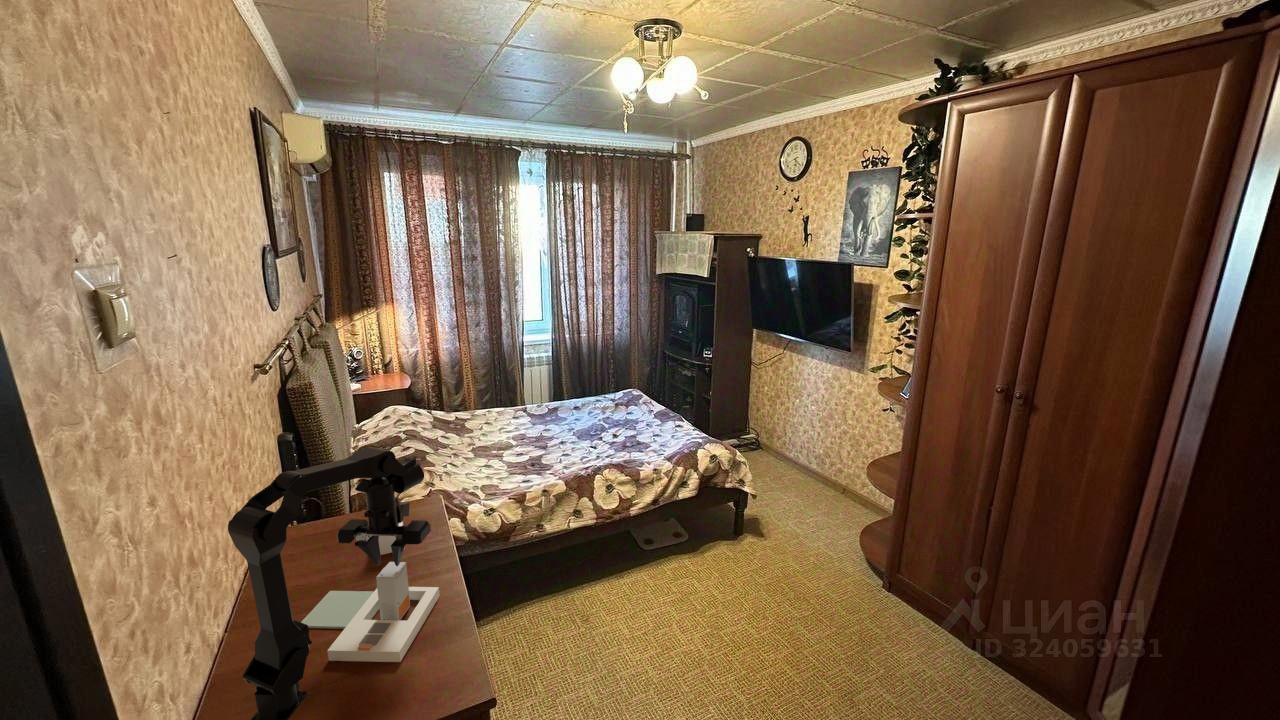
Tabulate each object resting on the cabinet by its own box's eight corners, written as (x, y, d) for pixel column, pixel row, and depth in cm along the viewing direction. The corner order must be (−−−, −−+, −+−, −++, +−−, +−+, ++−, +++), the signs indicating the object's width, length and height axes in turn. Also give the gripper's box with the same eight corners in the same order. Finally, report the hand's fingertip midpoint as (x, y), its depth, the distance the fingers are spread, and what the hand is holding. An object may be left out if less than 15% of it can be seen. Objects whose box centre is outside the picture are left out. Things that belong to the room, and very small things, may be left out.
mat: (351, 629, 116) (350, 626, 116) (298, 628, 116) (297, 625, 116) (378, 593, 128) (378, 591, 128) (330, 592, 128) (330, 590, 128)
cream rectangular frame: (400, 662, 107) (398, 649, 106) (328, 660, 107) (327, 647, 107) (439, 596, 127) (438, 585, 126) (379, 595, 127) (378, 584, 127)
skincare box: (398, 624, 118) (393, 577, 115) (380, 623, 118) (374, 577, 115) (411, 606, 124) (406, 561, 121) (394, 605, 124) (389, 561, 121)
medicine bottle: (377, 544, 149) (373, 506, 146) (404, 538, 152) (400, 500, 149) (376, 557, 143) (372, 518, 140) (405, 551, 146) (401, 512, 143)
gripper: (437, 486, 122) (442, 545, 126) (359, 485, 123) (367, 544, 126) (416, 510, 111) (423, 574, 115) (331, 508, 112) (340, 572, 115)
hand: (388, 564), depth 118 cm, fingers open, 4 cm apart
